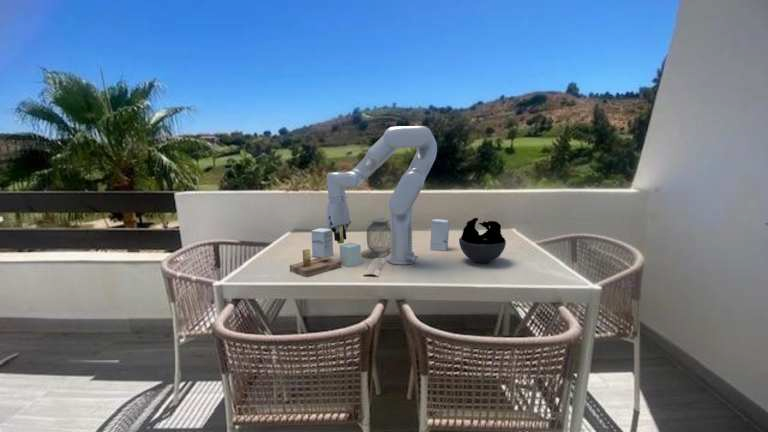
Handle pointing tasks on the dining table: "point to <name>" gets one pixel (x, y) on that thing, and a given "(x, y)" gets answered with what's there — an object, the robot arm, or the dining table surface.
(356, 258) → the pale blue block
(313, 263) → the pegboard
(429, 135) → the robot arm
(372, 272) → the newspaper
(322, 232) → the supplement box
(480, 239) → the bowl of black rocks
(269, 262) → the dining table surface
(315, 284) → the dining table surface
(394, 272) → the dining table surface
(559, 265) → the dining table surface
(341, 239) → the brass pin
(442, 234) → the skincare box
